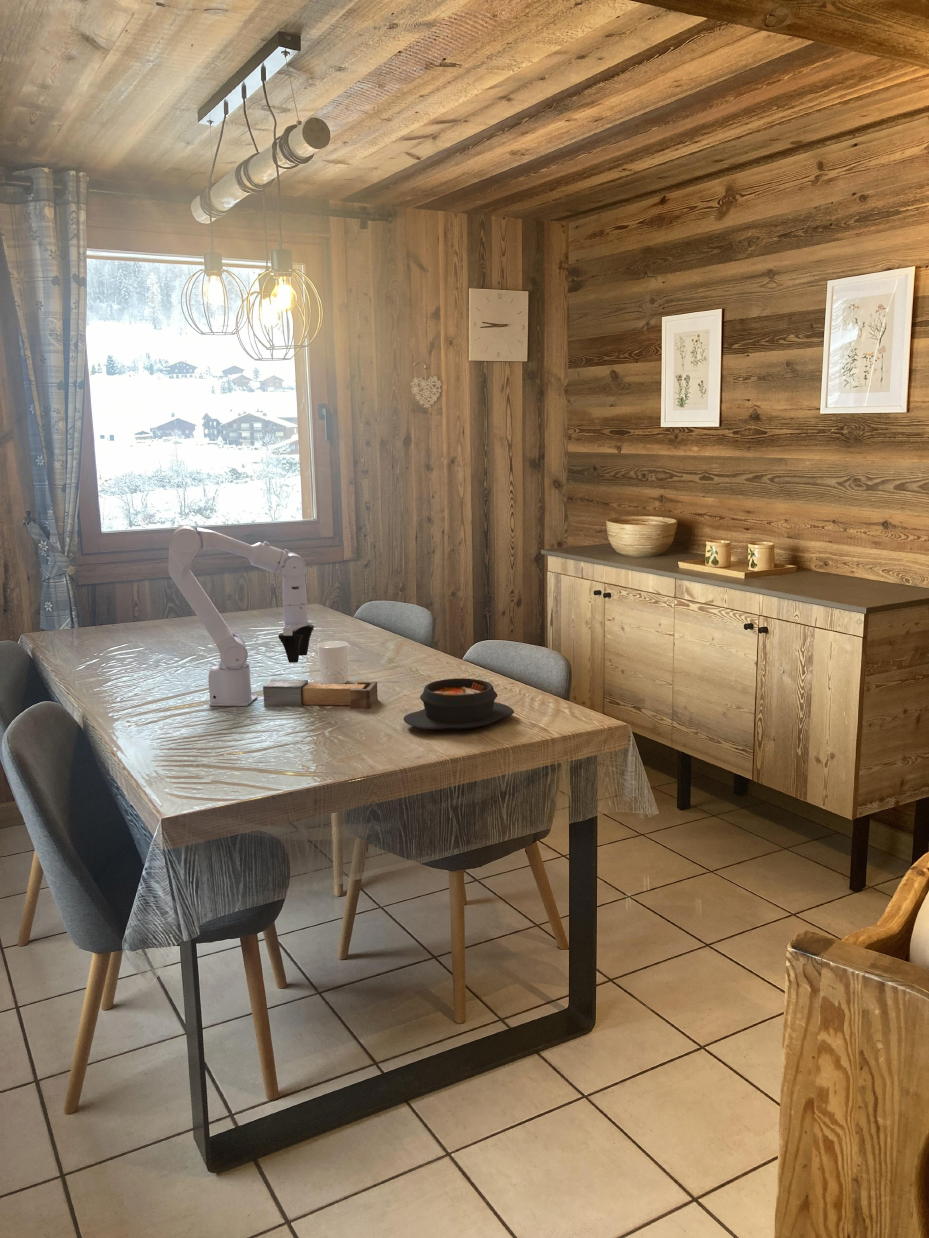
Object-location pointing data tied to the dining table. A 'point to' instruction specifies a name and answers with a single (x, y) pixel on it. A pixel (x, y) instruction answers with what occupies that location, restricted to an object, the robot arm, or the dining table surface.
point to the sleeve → (283, 693)
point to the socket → (364, 695)
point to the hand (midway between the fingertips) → (298, 658)
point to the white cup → (333, 662)
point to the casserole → (458, 705)
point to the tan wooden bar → (328, 693)
